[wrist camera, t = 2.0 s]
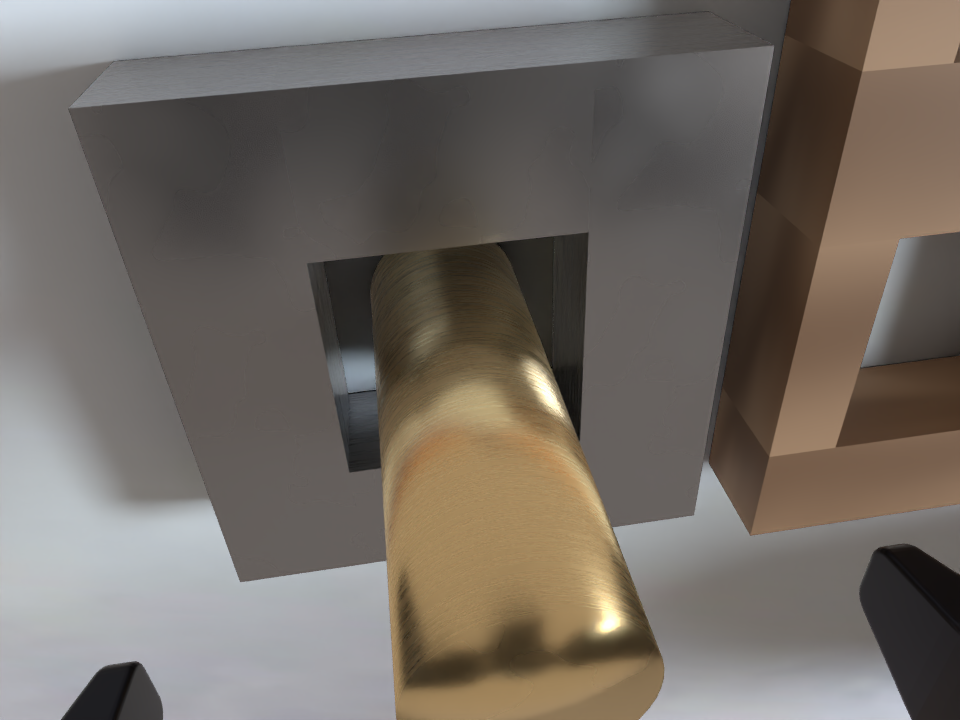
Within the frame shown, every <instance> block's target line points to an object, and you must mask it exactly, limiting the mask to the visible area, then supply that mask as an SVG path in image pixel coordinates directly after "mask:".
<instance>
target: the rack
mask: <svg viewBox="0 0 960 720" xmlns="http://www.w3.org/2000/svg"><path fill="white" fill-rule="evenodd" d="M953 232H960V0H791V4H790V9H789V15H788V20H787V26H786V32H785V37H784V43H783V49H782V54H781V60H780V65H779V71H778V77H777V82H776V88H775V93H774V99H773V105H772V110H771V116H770V121H769V127H768V133H767V138H766V144H765V150H764V155H763V161H762V166H761V172H760V178H759V183H758V189H757V194H756V200H755V206H754V211H753V217H752V222H751V228H750V234H749V239H748V245H747V251H746V256H745V262H744V267H743V273H742V279H741V284H740V290H739V295H738V301H737V307H736V312H735V318H734V323H733V329H732V335H731V340H730V346H729V352H728V357H727V363H726V368H725V374H724V380H723V385H722V391H721V396H720V402H719V408H718V413H717V419H716V424H715V430H714V436H713V441H712V447H711V453H710V458H709V464H710V466H711V468H712V469H713V471H714V473H715V475H716V476H717V478H718V480H719V482H720V483H721V485H722V487H723V489H724V490H725V492H726V494H727V496H728V497H729V499H730V501H731V502H732V504H733V506H734V508H735V509H736V511H737V513H738V515H739V516H740V518H741V520H742V522H743V523H744V525H745V527H746V529H747V530H748V532H749V534H750V536H751V535H758V534H764V533H771V532H778V531H784V530H791V529H797V528H804V527H811V526H817V525H824V524H830V523H837V522H844V521H850V520H857V519H864V518H870V517H877V516H883V515H890V514H897V513H903V512H910V511H916V510H923V509H930V508H936V507H943V506H949V505H956V504H960V356H953V357H945V358H938V359H930V360H922V361H915V362H907V363H900V364H892V365H884V366H877V367H869V368H862V369H860V366H861V363H862V360H863V356H864V353H865V350H866V347H867V343H868V340H869V337H870V334H871V330H872V327H873V324H874V321H875V317H876V314H877V311H878V308H879V304H880V301H881V298H882V295H883V291H884V288H885V285H886V282H887V278H888V275H889V272H890V269H891V265H892V262H893V259H894V256H895V252H896V249H897V246H898V243H899V239H901V238H910V237H919V236H927V235H936V234H945V233H953Z"/></svg>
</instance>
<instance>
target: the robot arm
mask: <svg viewBox="0 0 960 720" xmlns="http://www.w3.org/2000/svg"><path fill="white" fill-rule="evenodd" d="M859 595H860V601H861V605H862V608H863V610H864V613H865V615H866V617H867V619H868V622H869V624H870V626H871V629H872V631H873V633H874V635H875V638H876V640H877V642H878V645H879V647H880V649H881V652H882V654H883V656H884V658H885V661H886V663H887V665H888V668H889V670H890V672H891V675H892V677H893V679H894V681H895V684H896V686H897V688H898V691H899V693H900V695H901V697H902V700H903V702H904V704H905V706H906V709H907V711H908V713H909V715H910V717H911V719H912V720H960V575H959V574H957V573H956V572H954V571H953V570H951V569H950V568H948V567H947V566H945V565H943V564H942V563H940V562H939V561H937V560H936V559H934V558H933V557H931V556H929V555H928V554H926V553H925V552H923V551H922V550H920V549H918V548H917V547H915V546H912V545H909V544H898V545H891V546H885V547H880V548H878V549H876V550H875V551H874V552H873V554H872V556H871V559H870V562H869V564H868V567H867V569H866V572H865V575H864V577H863V580H862V582H861V585H860V592H859ZM61 720H163V708H162V702H161V699H160V696H159V695H158V693H157V691H156V689H155V687H154V685H153V683H152V681H151V680H150V678H149V676H148V674H147V672H146V670H145V668H144V667H143V665H142V664H140V663H139V662H137V661H133V662H126V663H119V664H113V665H108V666H105V667H103V668H102V669H100V670H99V671H98V672H97V673H96V674H95V675H94V676H93V678H92V679H91V680H90V682H89V683H88V684H87V686H86V687H85V688H84V690H83V691H82V692H81V694H80V695H79V696H78V698H77V699H76V700H75V702H74V703H73V704H72V706H71V707H70V708H69V710H68V711H67V712H66V714H65V715H64V716H63V718H62V719H61Z"/></svg>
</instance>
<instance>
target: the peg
mask: <svg viewBox="0 0 960 720" xmlns="http://www.w3.org/2000/svg"><path fill="white" fill-rule="evenodd" d="M370 293H371V309H372V326H373V342H374V359H375V375H376V392H377V409H378V425H379V442H380V458H381V475H382V491H383V508H384V524H385V541H386V557H387V574H388V590H389V607H390V624H391V640H392V657H393V673H394V690H395V706H396V720H638V719H640V718H641V717H642V716H643V715H644V713H645V712H646V711H647V710H648V709H649V708H650V706H651V705H652V704H653V702H654V701H655V699H656V698H657V696H658V693H659V691H660V689H661V686H662V683H663V679H664V664H663V659H662V656H661V653H660V651H659V648H658V646H657V643H656V640H655V638H654V635H653V633H652V630H651V627H650V625H649V622H648V620H647V617H646V614H645V612H644V609H643V607H642V604H641V601H640V599H639V596H638V594H637V591H636V588H635V586H634V583H633V581H632V578H631V575H630V573H629V570H628V567H627V565H626V562H625V560H624V557H623V554H622V552H621V549H620V547H619V544H618V541H617V539H616V536H615V534H614V531H613V528H612V526H611V523H610V521H609V518H608V515H607V513H606V510H605V508H604V505H603V502H602V500H601V497H600V495H599V492H598V489H597V487H596V484H595V481H594V479H593V476H592V474H591V471H590V468H589V466H588V463H587V461H586V458H585V455H584V453H583V450H582V448H581V445H580V442H579V440H578V437H577V435H576V432H575V429H574V427H573V424H572V422H571V419H570V416H569V414H568V411H567V409H566V406H565V403H564V401H563V398H562V395H561V393H560V390H559V388H558V385H557V382H556V380H555V377H554V375H553V372H552V369H551V367H550V364H549V362H548V359H547V356H546V354H545V351H544V349H543V346H542V343H541V341H540V338H539V336H538V333H537V330H536V328H535V325H534V323H533V320H532V317H531V315H530V312H529V309H528V307H527V304H526V302H525V299H524V296H523V294H522V291H521V289H520V286H519V283H518V281H517V278H516V276H515V273H514V270H513V268H512V265H511V263H510V261H509V259H508V257H507V256H506V254H505V252H504V251H503V250H502V249H501V248H500V247H499V246H498V245H497V244H496V243H487V244H478V245H469V246H460V247H451V248H442V249H433V250H424V251H414V252H405V253H396V254H387V255H384V256H383V257H382V258H381V260H380V262H379V263H378V265H377V267H376V269H375V272H374V274H373V278H372V282H371V292H370Z"/></svg>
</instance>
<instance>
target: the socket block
mask: <svg viewBox="0 0 960 720" xmlns="http://www.w3.org/2000/svg"><path fill="white" fill-rule="evenodd" d="M774 46H775V45H773V44H771V43H769V42H767V41H765V40H763V39H761V38H759V37H757V36H755V35H753V34H751V33H749V32H747V31H745V30H744V29H742V28H740V27H738V26H736V25H734V24H732V23H730V22H728V21H726V20H724V19H722V18H720V17H718V16H716V15H714V14H712V13H710V12H708V11H707V12H695V13H683V14H671V15H659V16H647V17H635V18H624V19H612V20H600V21H588V22H576V23H564V24H552V25H540V26H528V27H516V28H505V29H493V30H481V31H469V32H457V33H445V34H433V35H421V36H409V37H397V38H385V39H374V40H362V41H350V42H338V43H326V44H314V45H302V46H290V47H278V48H266V49H255V50H243V51H231V52H219V53H207V54H195V55H183V56H171V57H159V58H147V59H135V60H124V61H113V62H112V64H111V65H110V66H109V67H108V68H107V69H106V70H105V71H104V72H103V73H102V74H101V75H100V76H99V77H98V78H97V79H96V80H95V81H94V82H93V83H92V84H91V85H90V86H89V87H88V88H87V89H86V90H85V92H84V93H83V94H82V95H81V96H80V97H79V98H78V99H77V100H76V101H75V102H74V103H73V104H72V105H71V106H70V107H69V108H68V109H69V112H70V115H71V118H72V120H73V123H74V126H75V129H76V131H77V134H78V137H79V140H80V142H81V145H82V148H83V151H84V153H85V156H86V159H87V162H88V164H89V167H90V170H91V173H92V175H93V178H94V181H95V184H96V186H97V189H98V192H99V195H100V197H101V200H102V203H103V206H104V208H105V211H106V214H107V217H108V219H109V222H110V225H111V228H112V230H113V233H114V236H115V239H116V241H117V244H118V247H119V250H120V252H121V255H122V258H123V261H124V263H125V266H126V269H127V272H128V274H129V277H130V280H131V283H132V285H133V288H134V291H135V294H136V296H137V299H138V302H139V305H140V307H141V310H142V313H143V316H144V318H145V321H146V324H147V327H148V329H149V332H150V335H151V338H152V340H153V343H154V346H155V349H156V351H157V354H158V357H159V360H160V362H161V365H162V368H163V371H164V374H165V376H166V379H167V382H168V385H169V387H170V390H171V393H172V396H173V398H174V401H175V404H176V407H177V409H178V412H179V415H180V418H181V420H182V423H183V426H184V429H185V431H186V434H187V437H188V440H189V442H190V445H191V448H192V451H193V453H194V456H195V459H196V462H197V464H198V467H199V470H200V473H201V475H202V478H203V481H204V484H205V486H206V489H207V492H208V495H209V497H210V500H211V503H212V506H213V508H214V511H215V514H216V517H217V519H218V522H219V525H220V528H221V530H222V533H223V536H224V539H225V541H226V544H227V547H228V550H229V552H230V555H231V558H232V561H233V563H234V566H235V569H236V572H237V574H238V577H239V580H240V582H245V581H252V580H258V579H265V578H272V577H279V576H285V575H292V574H299V573H306V572H313V571H319V570H326V569H333V568H340V567H346V566H353V565H360V564H367V563H374V562H380V561H387V557H386V541H385V524H384V508H383V491H382V475H381V458H380V442H379V425H378V409H377V392H376V391H371V392H363V393H355V394H348V389H347V384H346V378H345V373H344V368H343V363H342V357H341V352H340V347H339V341H338V336H337V331H336V326H335V320H334V315H333V310H332V304H331V299H330V294H329V289H328V283H327V278H326V273H325V267H324V261H333V260H342V259H351V258H360V257H369V256H378V255H387V254H396V253H405V252H414V251H424V250H433V249H442V248H451V247H460V246H469V245H478V244H487V243H496V242H505V241H514V240H523V239H532V238H541V237H550V236H554V250H553V338H552V372H553V375H554V377H555V380H556V382H557V385H558V388H559V390H560V393H561V395H562V398H563V401H564V403H565V406H566V409H567V411H568V414H569V416H570V419H571V422H572V424H573V427H574V429H575V432H576V435H577V437H578V440H579V442H580V445H581V448H582V450H583V453H584V455H585V458H586V461H587V463H588V466H589V468H590V471H591V474H592V476H593V479H594V481H595V484H596V487H597V489H598V492H599V495H600V497H601V500H602V502H603V505H604V508H605V510H606V513H607V515H608V518H609V521H610V523H611V526H612V527H617V526H624V525H631V524H638V523H644V522H651V521H658V520H665V519H671V518H678V517H685V516H692V515H694V511H695V506H696V500H697V494H698V488H699V482H700V476H701V471H702V465H703V459H704V453H705V447H706V442H707V436H708V430H709V424H710V418H711V413H712V407H713V401H714V395H715V389H716V383H717V378H718V372H719V366H720V360H721V354H722V349H723V343H724V337H725V331H726V325H727V320H728V314H729V308H730V302H731V296H732V290H733V285H734V279H735V273H736V267H737V261H738V256H739V250H740V244H741V238H742V232H743V227H744V221H745V215H746V209H747V203H748V197H749V192H750V186H751V180H752V174H753V168H754V163H755V157H756V151H757V145H758V139H759V134H760V128H761V122H762V116H763V110H764V104H765V99H766V93H767V87H768V81H769V75H770V70H771V64H772V58H773V52H774Z"/></svg>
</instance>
